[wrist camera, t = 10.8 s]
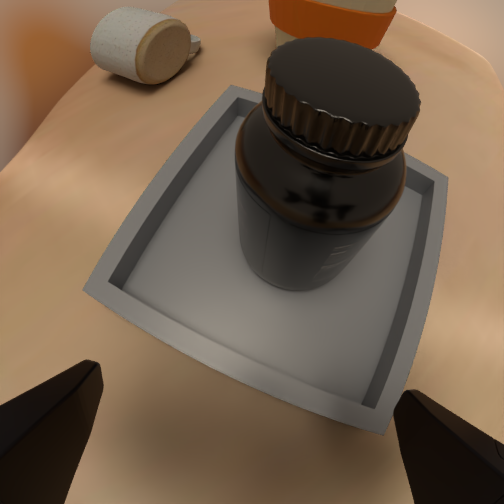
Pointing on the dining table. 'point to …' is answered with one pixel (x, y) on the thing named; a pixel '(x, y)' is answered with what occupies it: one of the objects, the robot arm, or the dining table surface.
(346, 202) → the supplement bottle
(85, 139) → the dining table surface
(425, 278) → the tray
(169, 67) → the ceramic mug
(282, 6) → the reusable coffee cup
